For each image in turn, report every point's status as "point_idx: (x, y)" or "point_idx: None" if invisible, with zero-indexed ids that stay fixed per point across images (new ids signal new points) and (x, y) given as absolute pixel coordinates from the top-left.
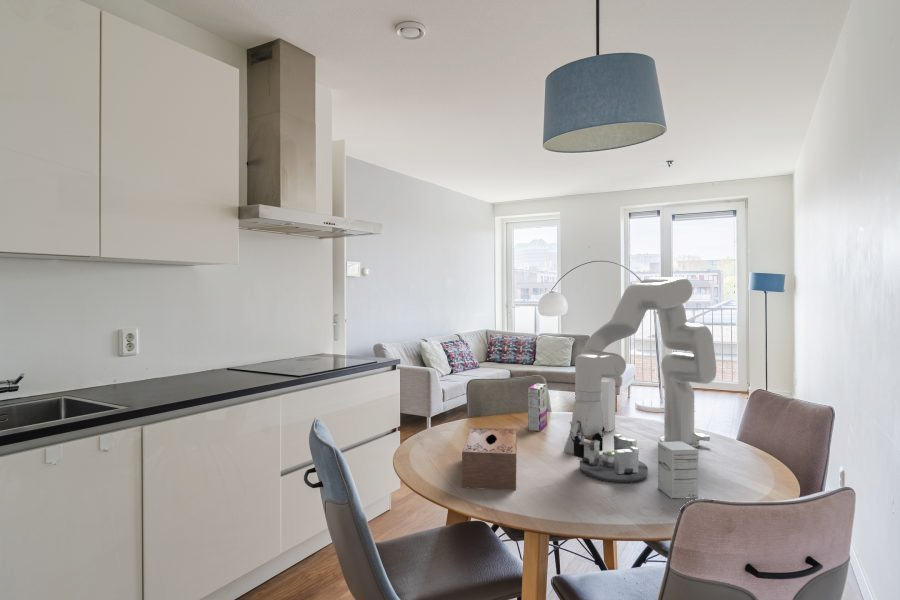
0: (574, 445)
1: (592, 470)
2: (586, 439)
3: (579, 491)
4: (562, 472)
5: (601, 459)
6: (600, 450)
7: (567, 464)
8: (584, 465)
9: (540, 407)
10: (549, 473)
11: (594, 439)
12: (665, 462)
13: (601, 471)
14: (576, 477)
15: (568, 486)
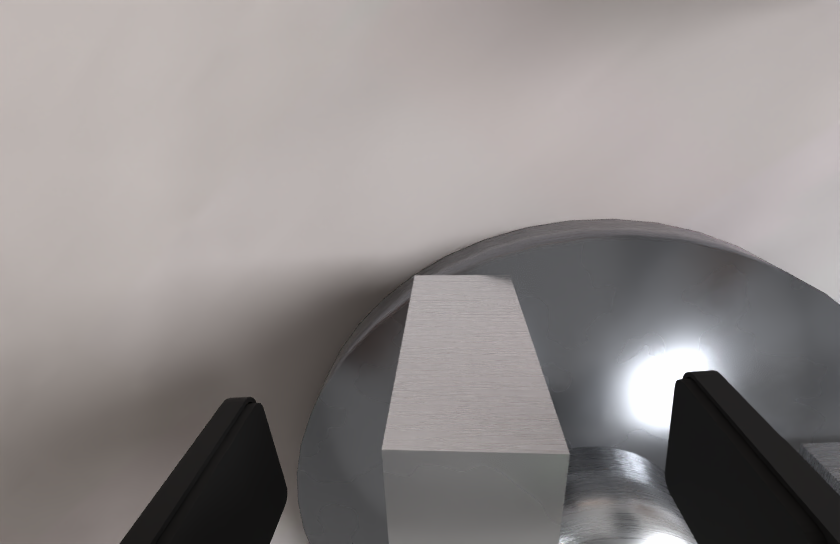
0: (150, 521)
1: (319, 496)
2: (552, 536)
3: (89, 523)
4: (198, 251)
5: (650, 392)
6: (667, 482)
7: (402, 121)
8: (356, 396)
9: None
10: (71, 198)
11: (768, 536)
12: None
13: (362, 542)
14: (229, 386)
15: (68, 449)
